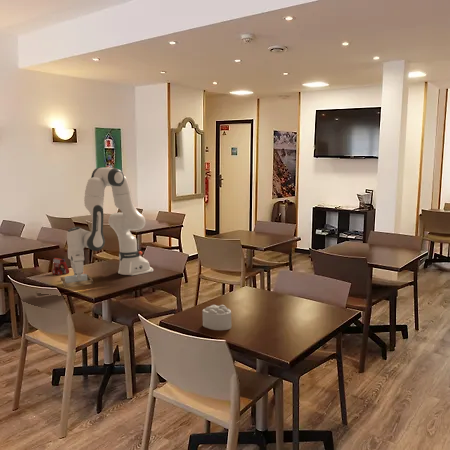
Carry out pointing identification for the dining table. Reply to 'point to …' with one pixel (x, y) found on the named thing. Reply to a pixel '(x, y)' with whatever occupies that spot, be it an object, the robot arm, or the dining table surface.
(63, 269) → the toy fire truck
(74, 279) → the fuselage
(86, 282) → the jig
